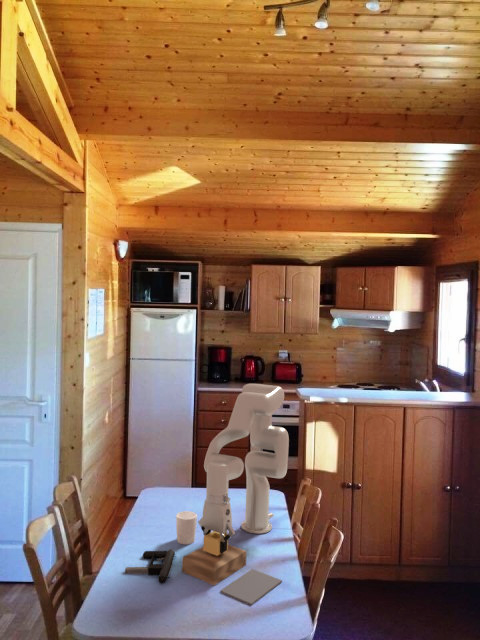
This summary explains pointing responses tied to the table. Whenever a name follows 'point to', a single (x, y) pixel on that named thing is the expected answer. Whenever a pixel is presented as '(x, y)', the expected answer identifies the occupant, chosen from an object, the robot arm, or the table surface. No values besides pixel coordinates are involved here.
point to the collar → (213, 543)
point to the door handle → (155, 565)
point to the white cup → (186, 527)
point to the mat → (251, 587)
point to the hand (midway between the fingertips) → (215, 548)
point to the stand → (213, 564)
